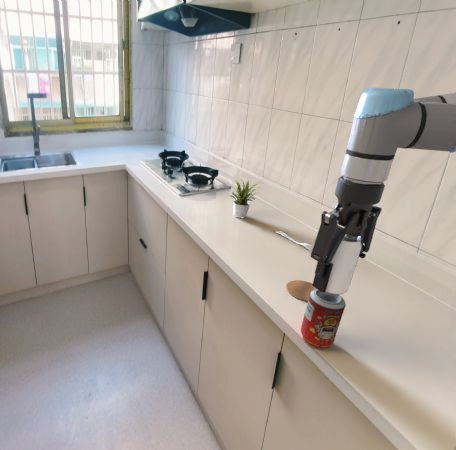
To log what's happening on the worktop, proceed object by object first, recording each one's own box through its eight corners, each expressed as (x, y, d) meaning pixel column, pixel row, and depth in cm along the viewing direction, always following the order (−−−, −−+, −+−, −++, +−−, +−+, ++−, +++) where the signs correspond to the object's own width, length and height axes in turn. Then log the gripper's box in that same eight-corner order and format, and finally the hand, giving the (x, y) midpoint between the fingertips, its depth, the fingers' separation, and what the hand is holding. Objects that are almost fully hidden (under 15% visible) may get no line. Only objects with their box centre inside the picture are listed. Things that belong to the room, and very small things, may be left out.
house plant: (266, 217, 145) (272, 180, 138) (249, 226, 135) (256, 187, 129) (236, 208, 154) (241, 173, 147) (219, 216, 144) (224, 179, 138)
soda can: (310, 353, 73) (323, 306, 68) (293, 330, 80) (304, 287, 75) (339, 350, 74) (354, 304, 69) (320, 328, 81) (333, 285, 76)
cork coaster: (323, 286, 97) (323, 285, 97) (325, 305, 89) (325, 304, 89) (286, 278, 101) (286, 277, 100) (285, 296, 92) (285, 295, 92)
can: (311, 276, 75) (323, 226, 70) (342, 280, 74) (357, 230, 69) (317, 292, 69) (332, 240, 64) (351, 297, 68) (369, 244, 63)
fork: (279, 237, 132) (280, 230, 132) (320, 256, 114) (321, 249, 113) (273, 237, 132) (274, 231, 131) (313, 257, 113) (314, 250, 112)
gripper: (377, 170, 68) (347, 267, 78) (306, 177, 61) (282, 284, 70) (416, 180, 62) (378, 285, 72) (342, 190, 55) (310, 305, 64)
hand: (331, 284), depth 71 cm, fingers closed on can, 6 cm apart
